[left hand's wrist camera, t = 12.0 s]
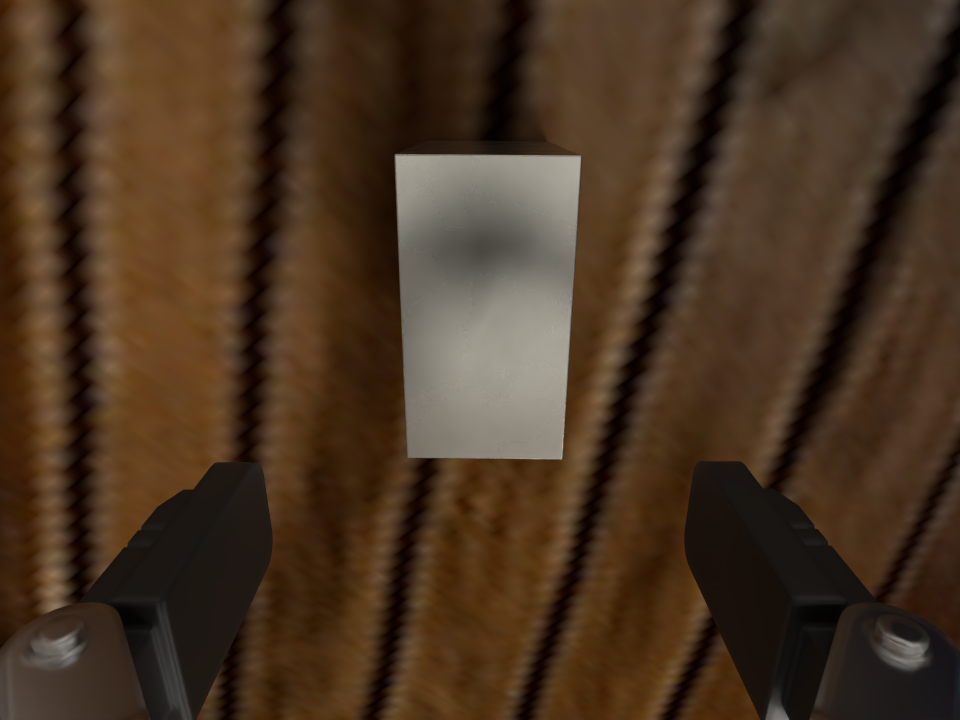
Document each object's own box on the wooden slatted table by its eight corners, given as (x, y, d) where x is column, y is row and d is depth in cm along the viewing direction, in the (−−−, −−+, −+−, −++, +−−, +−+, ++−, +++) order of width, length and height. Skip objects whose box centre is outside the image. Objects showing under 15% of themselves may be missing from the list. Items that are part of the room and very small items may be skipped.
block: (431, 350, 28) (406, 458, 20) (426, 140, 25) (394, 153, 16) (538, 351, 28) (562, 459, 20) (547, 141, 25) (582, 155, 16)
